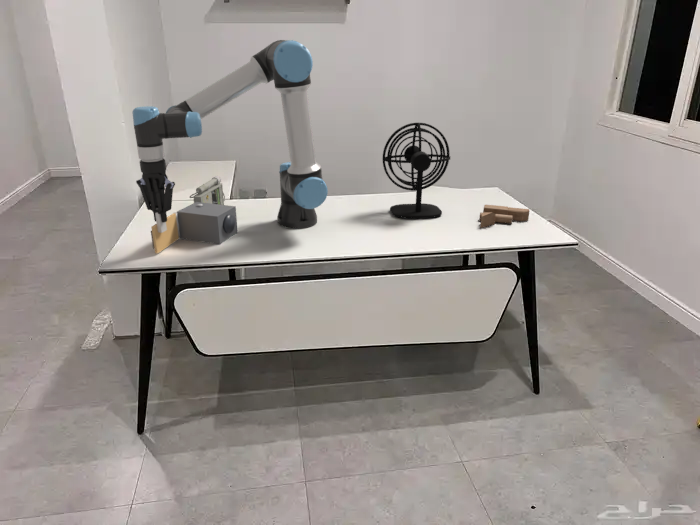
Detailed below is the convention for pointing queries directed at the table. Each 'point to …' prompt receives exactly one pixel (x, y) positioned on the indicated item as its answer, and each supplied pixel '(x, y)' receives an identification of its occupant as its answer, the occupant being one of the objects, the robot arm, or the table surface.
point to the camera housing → (207, 222)
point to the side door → (165, 234)
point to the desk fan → (419, 163)
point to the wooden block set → (502, 215)
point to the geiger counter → (210, 192)
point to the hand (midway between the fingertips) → (162, 231)
